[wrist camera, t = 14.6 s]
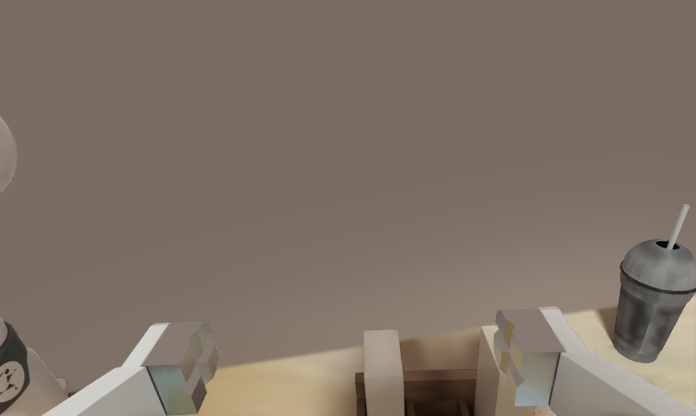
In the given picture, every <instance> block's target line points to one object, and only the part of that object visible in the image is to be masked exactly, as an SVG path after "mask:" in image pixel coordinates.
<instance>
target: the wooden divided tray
mask: <svg viewBox="0 0 696 416" xmlns="http://www.w3.org/2000/svg"><path fill="white" fill-rule="evenodd" d="M476 381H477V369H463V370H430V371H403V383H404V416H474V404H475V392H476ZM355 384H356V394H357V416H367V405H366V394H365V383H364V373H356V375H355Z"/></svg>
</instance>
